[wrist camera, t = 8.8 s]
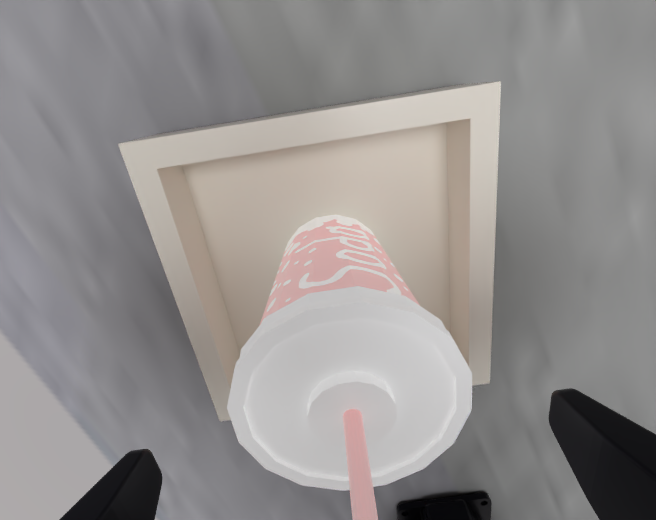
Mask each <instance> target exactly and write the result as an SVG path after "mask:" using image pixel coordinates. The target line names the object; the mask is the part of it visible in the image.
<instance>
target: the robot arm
mask: <svg viewBox="0 0 656 520" xmlns="http://www.w3.org/2000/svg"><path fill="white" fill-rule="evenodd" d="M549 423H550V426H551V429H552V431H553V433H554V435H555V437H556V439H557V441H558V443H559V445H560V447H561V449H562V451H563V453H564V455H565V457H566V459H567V461H568V463H569V464H570V466H571V468H572V470H573V472H574V474H575V476H576V478H577V480H578V482H579V484H580V486H581V488H582V490H583V492H584V494H585V495H586V497H587V499H588V501H589V503H590V504H591V506H592V508H593V509H594V511H595V513H596V514H597V516H598V518H599V519H600V520H656V434H654V433H652V432H651V431H649V430H647V429H645V428H643V427H642V426H640V425H638V424H636V423H634V422H633V421H631V420H629V419H627V418H626V417H624V416H622V415H620V414H618V413H617V412H615V411H613V410H611V409H610V408H608V407H606V406H604V405H602V404H601V403H599V402H597V401H595V400H594V399H592V398H590V397H588V396H586V395H585V394H583V393H581V392H579V391H577V390H575V389H563V390H556V391H554V392H553V393H552V396H551V403H550V411H549ZM161 486H162V473H161V470H160V468H159V466H158V464H157V462H156V460H155V458H154V456H153V454H152V452H151V451H150V450H148V449H141V450H134V451H130V452H129V453H127V454H126V455H125V456H124V457H123V458H122V459H121V460H120V461H119V462H118V463H117V464H116V465H115V466H114V467H113V468H112V469H111V470H110V471H109V472H108V473H107V474H106V475H104V477H102V479H100V480H99V481H98V482H97V483H96V484H95V485H94V486H93V487H92V488H91V489H90V490H89V491H88V492H87V493H86V494H85V495H84V496H83V497H82V498H81V499H80V500H79V501H78V502H77V503H76V504H75V505H74V506H73V507H72V508H71V509H70V510H69V511H68V512H67V513H66V514H65V515H64V516H63V517H62V518H61V519H60V520H154V519H155V515H156V510H157V505H158V500H159V495H160V491H161ZM397 514H398V520H490V519H491V500H490V498H489V495H488V494H487V493H477V494H470V495H463V496H455V497H448V498H440V499H433V500H425V501H418V502H411V503H403V504H400V505H399V506H398V507H397Z"/></svg>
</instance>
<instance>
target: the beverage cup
mask: <svg viewBox="0 0 656 520" xmlns="http://www.w3.org/2000/svg"><path fill="white" fill-rule="evenodd" d="M227 410H228V413H229V416H230V418H231V421H232V424H233V427H234V430H235V433H236V436H237V439H238V442H239V443H240V444H241V445H242V446H243V447H244V448H245V449H246V450H247V451H248V452H249V453H250V454H251V455H252V456H253V457H254V458H255V459H256V460H257V461H258V462H259V463H260V464H261V465H262V466H263V467H264V468H265V469H267V470H269V471H271V472H273V473H276V474H278V475H280V476H282V477H284V478H287V479H289V480H291V481H293V482H296V483H298V484H300V485H303V486H311V487H318V488H326V489H334V490H341V491H345V490H350V497H351V508H352V518H353V520H378V515H377V509H376V502H375V496H374V490H373V487H375V486H382V485H387V484H389V483H391V482H394V481H396V480H398V479H401V478H403V477H406V476H408V475H410V474H413V473H415V472H417V471H420V470H422V469H424V468H425V467H426V466H428V465H429V464H430V463H431V462H432V461H433V460H435V459H436V458H437V457H438V456H439V455H441V454H442V453H443V452H444V451H445V450H446V449H448V448H449V447H450V446H451V445H452V444H454V442H455V440H456V438H457V437H458V435H459V433H460V431H461V429H462V427H463V425H464V423H465V422H466V420H467V418H468V416H469V414H470V412H471V410H472V372H471V370H470V368H469V366H468V365H467V363H466V361H465V359H464V358H463V356H462V354H461V352H460V350H459V349H458V347H457V345H456V343H455V341H454V340H453V338H452V336H451V334H450V333H449V331H448V330H446V328H445V327H444V325H443V323H442V321H441V320H440V319H439V318H437V317H436V316H434V315H433V314H431V313H430V312H428V311H427V310H425V309H424V308H422V307H421V306H420V305H419V303H418V302H417V300H416V299H415V297H414V296H413V294H412V293H411V291H410V290H409V288H408V287H407V285H406V283H405V282H404V280H403V279H402V277H401V276H400V274H399V273H398V271H397V270H396V268H395V267H394V265H393V264H392V262H391V260H390V259H389V257H388V256H387V254H386V253H385V251H384V250H383V248H382V247H381V245H380V244H379V242H378V240H377V239H376V237H375V236H374V234H373V233H372V231H371V230H370V229H368V228H367V227H366V226H364V225H363V224H362V223H360V222H359V221H357V220H356V219H353V218H349V217H344V216H340V215H330V216H323V217H317V218H315V219H313V220H311V221H309V222H308V223H306V224H304V225H303V226H301V227H299V228H298V230H297V231H296V232H295V234H294V235H293V236H292V238H291V239H290V240H289V242H288V244H287V246H286V249H285V252H284V255H283V258H282V261H281V264H280V267H279V270H278V273H277V276H276V279H275V282H274V284H273V287H272V290H271V293H270V296H269V299H268V302H267V305H266V308H265V311H264V314H263V317H262V320H261V322H260V325H259V327H258V328H257V330H256V331H255V332H254V333H253V335H252V336H251V337H250V339H249V340H248V341H247V342H246V344H245V345H244V346H243V347H242V349H241V353H240V358H239V359H238V361H237V362H236V365H235V368H234V373H233V378H232V384H231V389H230V394H229V399H228V405H227Z"/></svg>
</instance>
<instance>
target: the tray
mask: <svg viewBox="0 0 656 520" xmlns="http://www.w3.org/2000/svg"><path fill="white" fill-rule="evenodd" d="M500 93H501V81H500V82H486V83H472V84H460V85H454V86H448V87H442V88H436V89H430V90H423V91H417V92H411V93H405V94H399V95H393V96H387V97H381V98H375V99H368V100H362V101H356V102H350V103H344V104H338V105H332V106H326V107H320V108H313V109H307V110H301V111H295V112H289V113H283V114H277V115H271V116H265V117H258V118H252V119H246V120H240V121H234V122H228V123H222V124H216V125H210V126H204V127H197V128H191V129H185V130H179V131H173V132H167V133H161V134H156V135H152V136H148V137H144V138H140V139H136V140H132V141H128V142H124V143H120V144H118V145H119V148H120V151H121V154H122V156H123V159H124V162H125V164H126V167H127V170H128V173H129V175H130V178H131V181H132V184H133V186H134V189H135V192H136V194H137V197H138V200H139V203H140V205H141V208H142V211H143V213H144V216H145V219H146V222H147V224H148V227H149V230H150V232H151V235H152V238H153V241H154V243H155V246H156V249H157V252H158V254H159V257H160V260H161V262H162V265H163V268H164V271H165V273H166V276H167V279H168V281H169V284H170V287H171V290H172V292H173V295H174V298H175V301H176V303H177V306H178V309H179V311H180V314H181V317H182V320H183V322H184V325H185V328H186V330H187V333H188V336H189V339H190V341H191V344H192V347H193V350H194V352H195V355H196V358H197V360H198V363H199V366H200V369H201V371H202V374H203V377H204V379H205V382H206V385H207V388H208V390H209V393H210V396H211V399H212V401H213V404H214V407H215V409H216V412H217V415H218V418H219V420H220V421H228V420H231V418H230V416H229V413H228V410H227V405H228V399H229V394H230V389H231V384H232V378H233V373H234V368H235V365H236V362H237V361H238V359H239V358H240V353H241V349H242V347H243V346H244V345H245V344H246V342H247V341H248V340H249V339H250V337H251V336H252V335H253V333H254V332H255V331H256V330H257V328H258V327H259V325H260V322H261V320H262V317H263V314H264V311H265V308H266V305H267V302H268V299H269V296H270V293H271V290H272V287H273V284H274V282H275V279H276V276H277V273H278V270H279V267H280V264H281V261H282V258H283V255H284V252H285V249H286V246H287V244H288V242H289V240H290V239H291V238H292V236H293V235H294V234H295V232H296V231H297V230H298V228H299V227H301V226H303V225H304V224H306V223H308V222H309V221H311V220H313V219H315V218H317V217H323V216H330V215H340V216H344V217H349V218H353V219H356V220H357V221H359V222H360V223H362V224H363V225H364V226H366V227H367V228H368V229H370V230H371V231H372V233H373V234H374V236H375V237H376V239H377V240H378V242H379V244H380V245H381V247H382V248H383V250H384V251H385V253H386V254H387V256H388V257H389V259H390V260H391V262H392V264H393V265H394V267H395V268H396V270H397V271H398V273H399V274H400V276H401V277H402V279H403V280H404V282H405V283H406V285H407V287H408V288H409V290H410V291H411V293H412V294H413V296H414V297H415V299H416V300H417V302H418V303H419V305H420V306H421V307H422V308H424V309H425V310H427V311H428V312H430V313H431V314H433V315H434V316H436V317H437V318H439V319H440V320H441V321H442V323H443V325H444V327H445V328H446V330H448V331H449V333H450V334H451V336H452V338H453V340H454V341H455V343H456V345H457V347H458V349H459V350H460V352H461V354H462V356H463V358H464V359H465V361H466V363H467V365H468V366H469V368H470V370H471V372H472V386H474V385H481V384H488V383H490V365H491V338H492V311H493V284H494V256H495V229H496V202H497V175H498V148H499V121H500Z"/></svg>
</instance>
